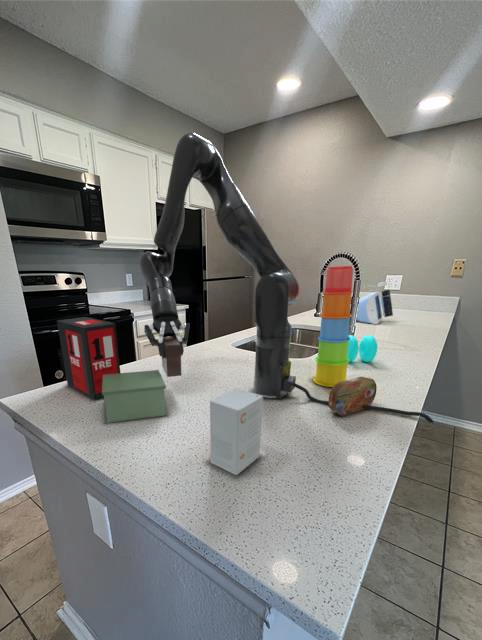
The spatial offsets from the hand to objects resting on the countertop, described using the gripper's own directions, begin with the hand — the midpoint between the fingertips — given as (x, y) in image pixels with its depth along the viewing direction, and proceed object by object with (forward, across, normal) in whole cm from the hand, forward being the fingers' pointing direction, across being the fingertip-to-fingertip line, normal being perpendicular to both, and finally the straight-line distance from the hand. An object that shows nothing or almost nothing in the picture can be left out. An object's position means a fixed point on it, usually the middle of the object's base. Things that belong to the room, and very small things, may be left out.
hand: (172, 355), depth 91 cm
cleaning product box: (+1, -23, +14) cm, 27 cm away
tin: (+26, +41, -10) cm, 50 cm away
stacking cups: (+12, +49, +3) cm, 51 cm away
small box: (+34, +5, -19) cm, 40 cm away
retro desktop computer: (-49, +141, +65) cm, 163 cm away
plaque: (+2, 0, +5) cm, 5 cm away
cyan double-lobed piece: (0, +73, +15) cm, 74 cm away
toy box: (+14, -12, +1) cm, 18 cm away
